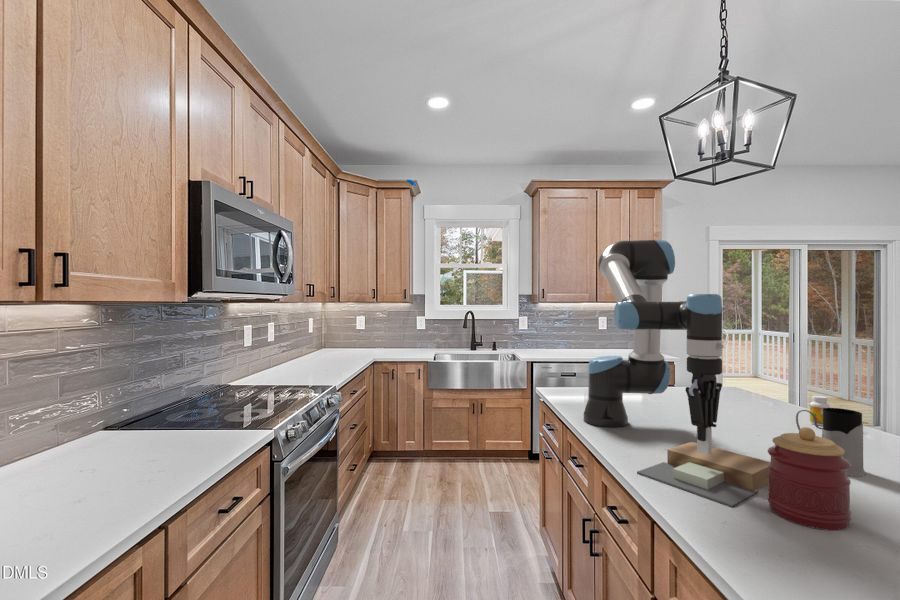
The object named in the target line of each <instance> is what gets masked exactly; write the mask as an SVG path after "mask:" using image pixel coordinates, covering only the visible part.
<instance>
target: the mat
mask: <svg viewBox="0 0 900 600" xmlns="http://www.w3.org/2000/svg"><path fill="white" fill-rule="evenodd" d="M676 467H678V466H675V465H672V464H668V462H664V461H662V462H659V463H658V464H654V465H652V466H649V467H646V468H642V469H641V470H638V471H636V474H638V475H641V476H643V477H647V478H650V479H651V480H654V481H658V482H660V483H663V484H667V485H670V486H672V487H675V488H677V489H679V490H680V489H681V490H683V491H686V492H688V493H691V494H694V495H696V496H699V497H701V498H702V497H703V498H705V499H708V500H710V501H713V502H716V503H719V504H722V505H725V506H728V507H731V508H735V506H737V505H739V504H741V503H743V502H744V501H746V500H748V499H750V498H752V497H754V496H755V495H757V494H758V493H759V492H758V491H757V490H755V491H754V490H751V489H748V488H745V487H741V486H738V485H735V484H732V483H729V482H726V481H724V482H722V483H720V484H718V485H716V486H713V487H711V488H709V489H705V488H702V487H699V486H696V485H693V484H690V483H687V482H684V481H681V480H678V479H675V478H673V468H676Z"/></svg>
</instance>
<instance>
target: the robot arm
mask: <svg viewBox="0 0 900 600" xmlns="http://www.w3.org/2000/svg"><path fill="white" fill-rule="evenodd" d="M675 267H676V257H675V252H674V249H673V247H672V245H671V244H670V242H669V241H667V240H661V239H660V240H659V239H647V240H646V239H644V240H643V239H642V240H620V241H616V242H614V243H612V244H610V245H608V247H606V248H605V249H604V250H603V251H602V252H601V254H600V256H599V259H598V269H599V272H600V275H601V276H602V277H603V278H604V279H606V280H607V283H608V286H609V288H610V289H611V293H612V294H613V297H614V299H615V301H616V303H615V305H614V308H613V318H614V324H615V326H616V328H618V329H619V330H630V331H633V349H632V351H630V352H629V353H628V356H627V357H628V359H624V358H623V357H622V356H621V355H603V356H597V357H593V358H591V359H590V360H589V362H588V367H587V368H588V369H587V374H588V376H587V377H588V379H587V380H588V399H587V401H586V405H585V409H584V412H583V421H584V422H585V423H586V424H590V425H593V426H597V427H604V426H605V427H607V428H609V427H610V428H618V427H625V426H628V423H629V417H628V413H627V411H626V407H625V405H624V399H623V394H645V395H646V394H648V395H654V394H656V395H657V394H660V395H661V394H663V393H665V391H666V390H667V389H668V387H669V384H670V379H671V371H670V369H671V367H670V364H669V362H668V361H666V360H665V356H664V355H663V353H661V349H660V348H661V330H663V331H664V330H669V331H671V330H673V331H674V330H675V331H676V330H677V331H679V330H680V331H681V330H683V331H686V355H688V356H687V357H686V371H687V372H688V373H691V374H692V377H691V380H690V381H691V382H690V383H691V385H690V387H689V386H686V387H685V393H686V395H687V400H688V407H689V415H690V423H691V425H692V426H695V427H696V443H697V452H698V453H702V454H705V455H711V454H712V447H713V446H712V444H713V443H712V442H713V441H712V439H713V438H712V437H713V436H712V435H713V434H712V428H717V424H716V423H717V421H718V413H719V405H720V397H721V392H722V387H723V384H722V383H720V382H718V381H717V376H718V375H721V374H723V359H722V358H720V357H722V355H723V354H722V353H723V348H724V344H723V312H724V310H723V309H724V308H723V303H722V302H723V301H722V296H721V295H720V294H718V293H690V294H688V295H687V297H686V301H685V300H684V301H682V300H681V301H663V284H664V283H666V282H667V281H668V280H669V279H668V277H669V276H668V275H672V274H673V273H674V271H675Z"/></svg>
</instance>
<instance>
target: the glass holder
mask: <svg viewBox="0 0 900 600" xmlns="http://www.w3.org/2000/svg"><path fill="white" fill-rule="evenodd" d="M801 412H807V413H808V414H809V415H810V414H811V415H812V416H813V418H814V424H815V425H814V424H813V425H814V426H815V427H816V429H818V430H821V437H822V438H826V439H829V440H831V441H833V442H834V443H835V444H836V445H838V446H840V447H841V448H843V449H844V451H845V453H844V454H843V455H842V457H843V458H845V459H846V460H848V461H849V462H850V464H851V466H850V468H848V469H847V477H857V478H858V477H865V476H866V475H867V474H866V471H865V469H864V423H863V413H862V412H860V411H857V410H854V409H849V408H847V409H846V408H838V407H830V408H824V409H823V426H819V425H817V420H816V417H815V415H814V414H813V413H812V412H811V411H810V410H808V409H801V410H799V411H797V413H796V415H795V423H796V427H797V429H798V431H799V430H800V429H801V427H800V423H799V414H800V413H801Z"/></svg>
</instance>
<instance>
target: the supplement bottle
mask: <svg viewBox="0 0 900 600" xmlns="http://www.w3.org/2000/svg"><path fill="white" fill-rule="evenodd" d="M811 398H812V401H811V402H810V403H809V411H811V412H812V413H813V414H814V415H815V417H816V420H817V426H818V427H823V409H824V408H831V406H830V404H829V403H827V402H828V397H827V396H823V395H812V397H811ZM809 423H810V424H811V425H814V426H815V424H814V418H813V416H812V415H811V414H810V413H809Z"/></svg>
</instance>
